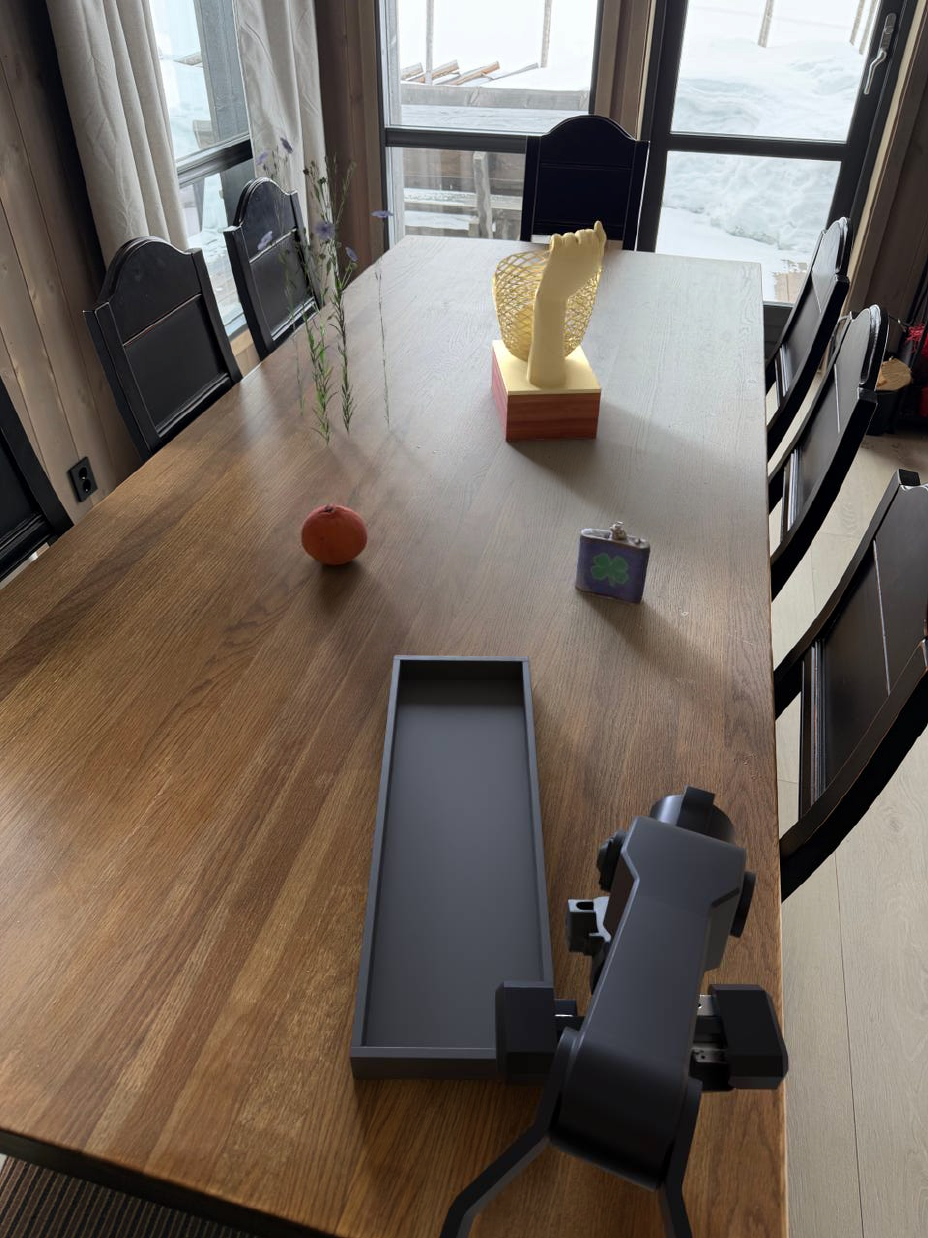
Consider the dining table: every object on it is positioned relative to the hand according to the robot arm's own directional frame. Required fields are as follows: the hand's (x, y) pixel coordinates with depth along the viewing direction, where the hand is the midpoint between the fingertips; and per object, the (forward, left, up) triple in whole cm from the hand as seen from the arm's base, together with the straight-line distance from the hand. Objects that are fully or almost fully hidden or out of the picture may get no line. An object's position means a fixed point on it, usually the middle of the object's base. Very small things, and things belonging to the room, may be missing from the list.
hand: (620, 1089), depth 63 cm
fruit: (+78, -2, -3) cm, 78 cm away
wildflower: (+117, -14, -3) cm, 118 cm away
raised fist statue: (+109, -50, -3) cm, 120 cm away
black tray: (+27, +1, -3) cm, 28 cm away
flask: (+56, -33, -3) cm, 65 cm away
